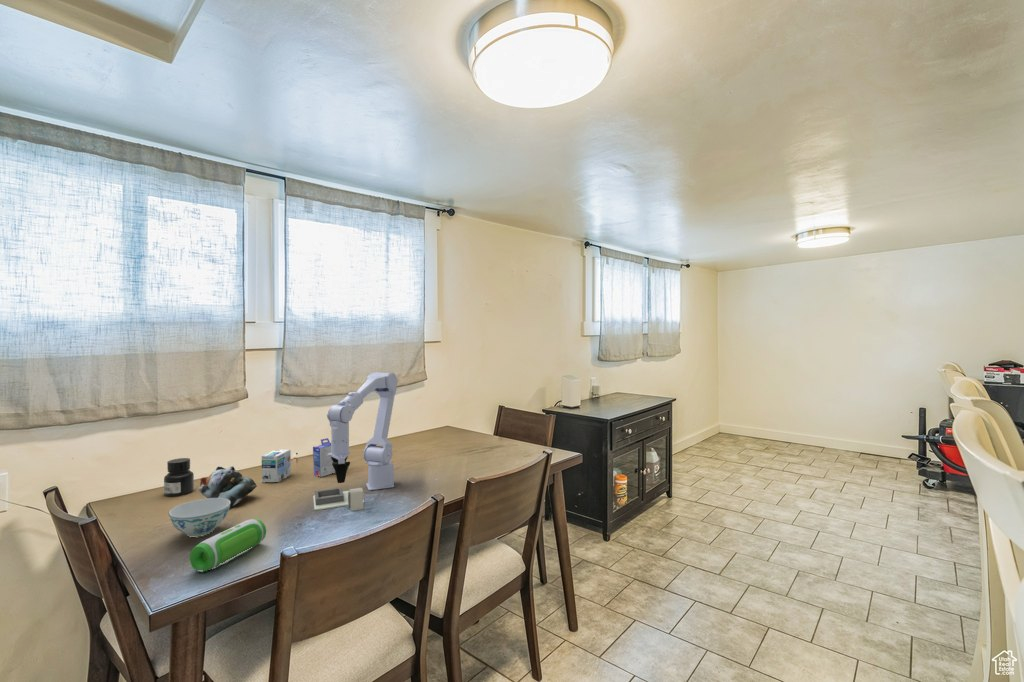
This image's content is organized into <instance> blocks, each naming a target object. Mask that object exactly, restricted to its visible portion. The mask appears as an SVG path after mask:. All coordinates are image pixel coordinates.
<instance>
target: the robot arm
mask: <svg viewBox="0 0 1024 682" xmlns="http://www.w3.org/2000/svg"><path fill="white" fill-rule="evenodd" d="M398 381H399V379H398V377H397V375H396V374H395V373H394V372H376V371H372V372H370V374H368V375H367V378H366V381H365V382H364V383H363V384H362V385H361V386H360V387H359V388H357V391H350V392H348V393H347V395H346V397H344V398H343V399H342V400H340V401H339V403H338V404H333V405H332V406H331V407H329V409H328V411H327V414H326V418H327V420H328V422H329V426H330V430H331V431H330V435H331V438H330V439H331V440H330V443H331V453H328V456H331V459H332V461H333V462H332V465H333V467H334V469H335V472H336V473H335V476H336V477H335V478H336V481H337V484H343V483H345V482H346V477H347V471H348V469H349V466H350V465H351V461H347V459H348V458H349V456H350V454H351V453H350V421H351V420H352V419H353V416H354V414H355V411H356V410H358V409H359V407H361V405H363V404H364V399H365V398H366V397H367V396H369V394H371V393H372V392H375V393H376V394H378V396H379V404H378V410H377V414H376V419H375V425H374V430H373V437H371V438H370V439H369V440H368V441H367V442H366V445H365V448H364V450H363V452H362V453H363V455H362V456H363V459H364V461H365V462H366V464H367V471H368V472H367V476H368V477H367V479H368V481H367V482H366V483H365V486H366V488H367V491H374V490H381V489H383V490H384V489H389V488H394V487H395V476H394V475H395V474H394V473H395V469H394V464H393V463H394V462H392V461H391V460H392V459H393V443H392V442H391V441H390V440H389V439H388V436H389V431H390V424H391V419H392V414H393V407H394V402H395V395H396V394H397V389H398V383H399V382H398Z"/></svg>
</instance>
